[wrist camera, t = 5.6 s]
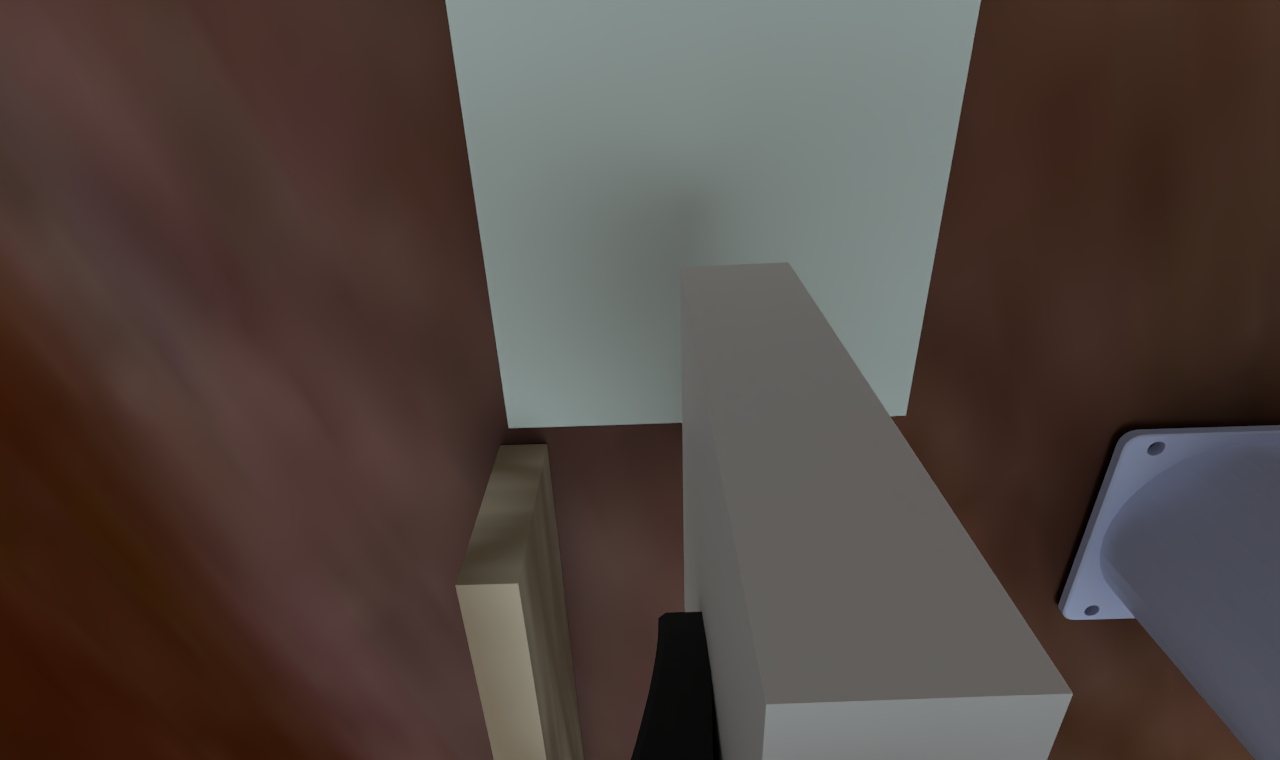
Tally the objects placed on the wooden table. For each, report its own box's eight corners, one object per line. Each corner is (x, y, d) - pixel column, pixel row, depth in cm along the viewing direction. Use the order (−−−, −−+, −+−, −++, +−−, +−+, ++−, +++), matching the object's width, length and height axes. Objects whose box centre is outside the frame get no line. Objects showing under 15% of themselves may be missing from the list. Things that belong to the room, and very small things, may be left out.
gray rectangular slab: (788, 262, 12) (1073, 692, 4) (763, 641, 17) (879, 1183, 9) (680, 266, 12) (766, 704, 4) (685, 644, 17) (731, 1187, 9)
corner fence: (957, 430, 21) (1065, 567, 16) (876, 788, 30) (928, 951, 25) (500, 445, 21) (455, 585, 16) (555, 796, 30) (538, 960, 25)
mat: (979, -56, 15) (991, -59, 14) (898, 405, 21) (905, 415, 20) (446, -36, 15) (439, -38, 15) (511, 417, 21) (508, 428, 20)
